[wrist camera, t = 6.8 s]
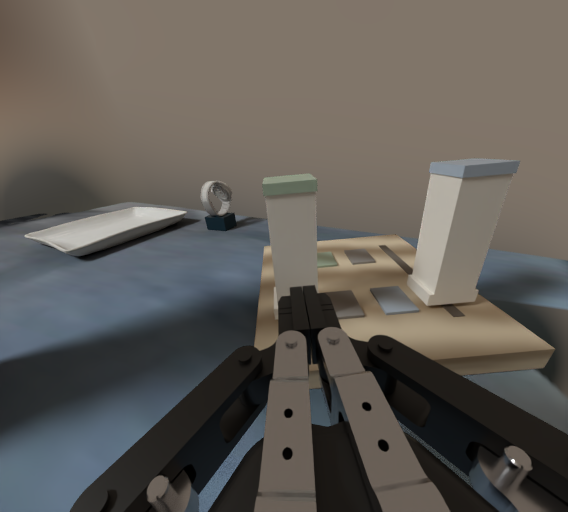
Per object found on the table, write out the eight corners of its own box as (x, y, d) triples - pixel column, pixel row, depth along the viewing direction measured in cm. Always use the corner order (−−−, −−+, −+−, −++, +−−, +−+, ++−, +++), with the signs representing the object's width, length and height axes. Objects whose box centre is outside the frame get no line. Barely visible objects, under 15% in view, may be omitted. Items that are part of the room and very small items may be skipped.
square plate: (139, 216, 77) (134, 205, 75) (192, 224, 63) (188, 210, 61) (30, 247, 56) (20, 232, 55) (74, 267, 43) (64, 248, 41)
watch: (240, 222, 59) (233, 178, 54) (221, 233, 52) (210, 183, 48) (223, 221, 61) (214, 178, 56) (202, 231, 55) (190, 184, 50)
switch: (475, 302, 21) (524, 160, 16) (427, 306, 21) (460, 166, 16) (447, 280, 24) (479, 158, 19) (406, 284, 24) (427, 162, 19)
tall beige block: (323, 315, 21) (321, 178, 16) (275, 320, 21) (257, 184, 16) (316, 292, 24) (313, 173, 19) (275, 295, 24) (260, 177, 19)
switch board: (543, 368, 17) (557, 345, 16) (254, 393, 17) (250, 373, 16) (394, 245, 39) (395, 232, 38) (265, 257, 39) (264, 244, 38)
